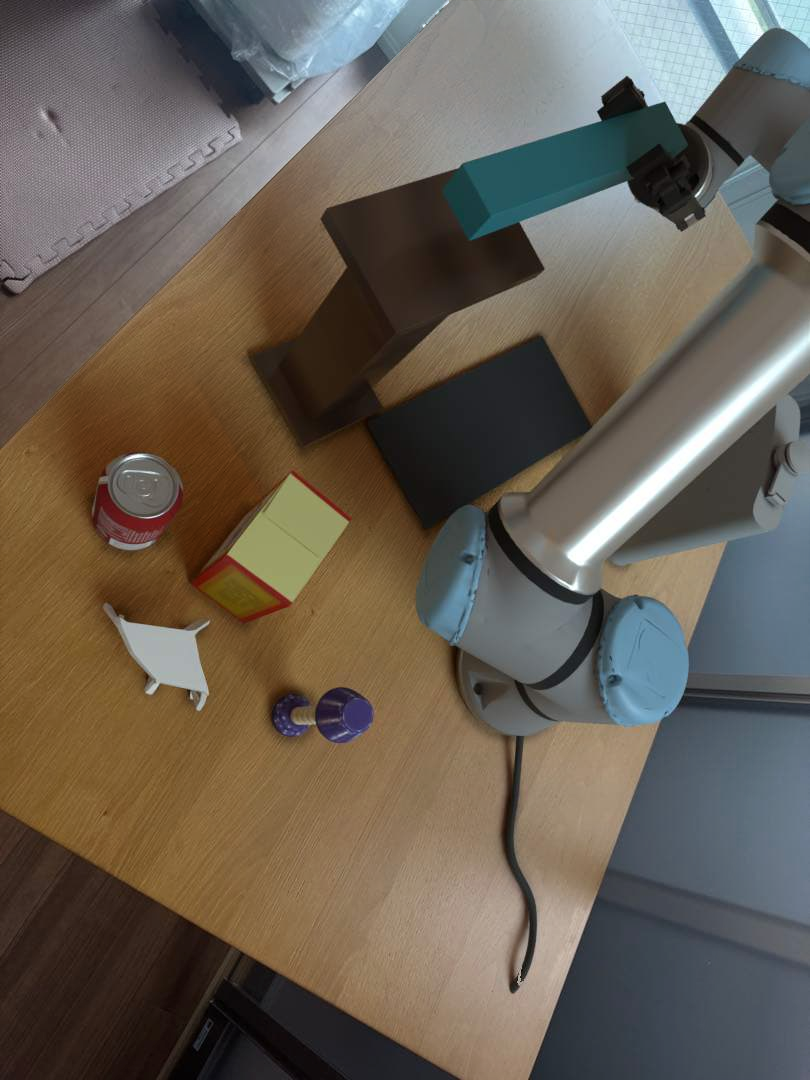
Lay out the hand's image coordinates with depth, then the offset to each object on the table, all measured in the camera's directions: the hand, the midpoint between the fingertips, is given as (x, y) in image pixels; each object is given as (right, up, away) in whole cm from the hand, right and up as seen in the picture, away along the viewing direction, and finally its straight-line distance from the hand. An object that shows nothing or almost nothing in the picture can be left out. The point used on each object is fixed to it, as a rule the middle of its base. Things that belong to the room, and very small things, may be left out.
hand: (630, 131), depth 54 cm
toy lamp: (-28, -48, +19) cm, 59 cm away
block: (-5, -3, +2) cm, 6 cm away
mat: (-7, -16, +36) cm, 40 cm away
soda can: (-43, -28, +16) cm, 54 cm away
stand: (-27, -13, +27) cm, 40 cm away
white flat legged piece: (-40, -41, +14) cm, 59 cm away
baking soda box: (-33, -33, +20) cm, 51 cm away
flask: (+14, -26, +44) cm, 53 cm away
